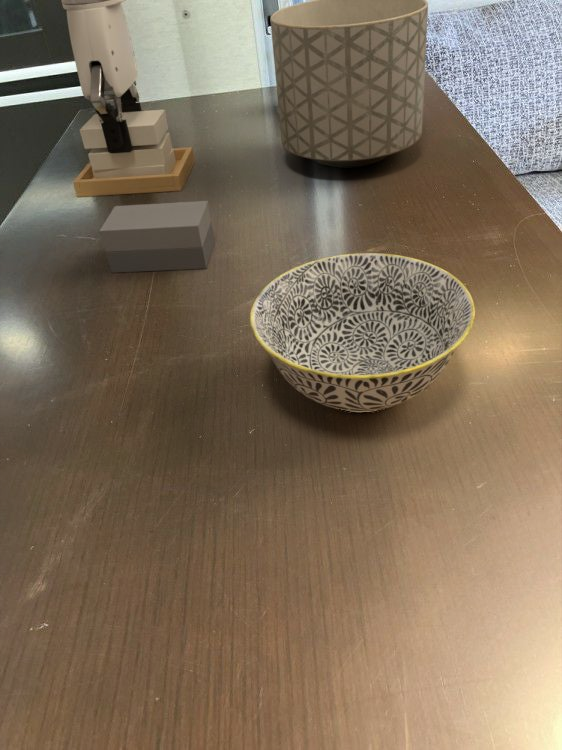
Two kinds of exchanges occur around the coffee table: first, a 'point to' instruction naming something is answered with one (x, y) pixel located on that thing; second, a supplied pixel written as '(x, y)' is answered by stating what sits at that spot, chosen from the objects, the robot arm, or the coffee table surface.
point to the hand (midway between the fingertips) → (127, 141)
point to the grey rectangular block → (158, 237)
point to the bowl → (362, 327)
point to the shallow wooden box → (137, 179)
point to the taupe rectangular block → (134, 160)
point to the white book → (140, 126)
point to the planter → (350, 78)
